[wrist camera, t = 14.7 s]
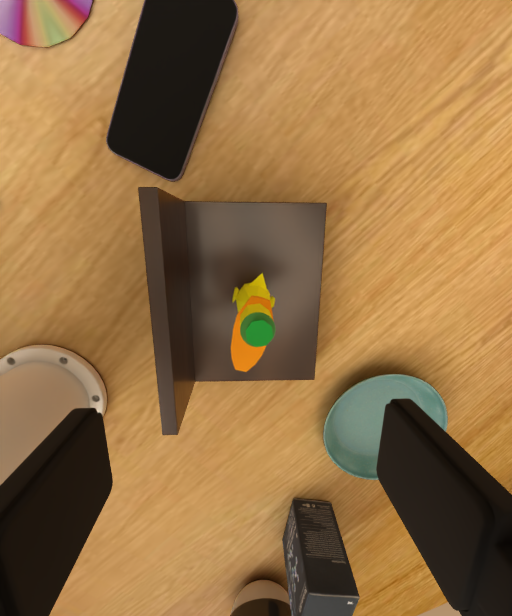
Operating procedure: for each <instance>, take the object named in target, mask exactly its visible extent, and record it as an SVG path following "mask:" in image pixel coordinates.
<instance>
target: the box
mask: <svg viewBox="0 0 512 616" xmlns="http://www.w3.org/2000/svg"><path fill="white" fill-rule="evenodd" d="M283 549H284V558H285V566H286V574H287V583H288V591H289V600H290V608H291V616H352V615H353V612H354V610H355V607H356V605H357V603H358V600H359V597H360V596H359V594H358V590H357V587H356V583H355V580H354V577H353V573H352V570H351V567H350V564H349V560H348V557H347V554H346V550H345V547H344V544H343V540H342V537H341V534H340V531H339V528H338V524H337V521H336V517H335V514H334V511H333V508H332V504H331V503H330V502H323V501H314V500H305V499H296V498H294V499H293V501H292V505H291V509H290V513H289V517H288V521H287V524H286V529H285V532H284V536H283Z"/></svg>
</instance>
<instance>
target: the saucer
mask: <svg viewBox="0 0 512 616" xmlns="http://www.w3.org/2000/svg"><path fill="white" fill-rule="evenodd" d="M404 398H409V399H411V400H413V401H414V402H415V403H416V404H417V405H418V406H419V407H420V408H421V409H422V410H423V411H424V412H425V413H426V414H428V415H429V416H430V417H431V418H432V419H433V420H434V421H435V422H436V423H437V424H438V425H439V426H440V427H441V428H442V429H443V430H444V431H445V432H446V429H447V423H448V416H447V410H446V406H445V403H444V401H443V399H442V397H441V396H440V394H439V393H438V392H437V391H436V390H435V389H434V388H433V387H432V386H431V385H430V384H428V383H427V382H425V381H423V380H421V379H419V378H416V377H413V376H409V375H403V374H386V375H379V376H374V377H371V378H367V379H365V380H362V381H360V382H358V383H357V384H355V385H353V386H352V387H350V388H349V389H348V390H346V391H345V392H344V393H343V394H342V395H341V396H340V397H339V398H338V399H337V401H336V402H335V403H334V405H333V406H332V408H331V410H330V411H329V413H328V416H327V418H326V421H325V425H324V431H323V439H324V445H325V448H326V451H327V453H328V455H329V457H330V458H331V460H332V461H333V462H334V463H335V464H336V465H337V466H338V467H339V468H340V469H341V470H343V471H345V472H346V473H348V474H350V475H353V476H355V477H359V478H363V479H369V480H379V479H378V476H377V471H376V467H377V460H378V453H379V446H380V439H381V432H382V425H383V418H384V411H385V406H386V404H388V403H390V401H391V400H392V399H404Z"/></svg>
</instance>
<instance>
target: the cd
mask: <svg viewBox="0 0 512 616" xmlns="http://www.w3.org/2000/svg"><path fill="white" fill-rule="evenodd" d="M92 1H93V0H0V34H2V35H4V36H6V37H7V38H9V39H11V40H13V41H15V42H16V43H18V44H20V45H28V46H37V47H47V48H48V47H50V46H52V45H55V44H57V43H60V42H62V41H65V40H67V39H70V38H71V37H72V36H73V35H74V34H75V33H76V31H77V30H78V29H79V28H80V27H81V25H82V24H83V23H84V22H85V21H86V19H87V18H88V16H89V12H90V8H91V5H92Z"/></svg>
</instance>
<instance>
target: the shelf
mask: <svg viewBox="0 0 512 616" xmlns="http://www.w3.org/2000/svg"><path fill="white" fill-rule="evenodd" d="M138 191H139V201H140V211H141V221H142V232H143V242H144V252H145V262H146V272H147V282H148V292H149V303H150V313H151V323H152V333H153V343H154V353H155V363H156V374H157V384H158V394H159V404H160V414H161V424H162V434H163V435H178V432H179V429H180V426H181V423H182V420H183V417H184V414H185V411H186V408H187V405H188V402H189V399H190V396H191V393H192V390H193V387H194V384H195V381H260V380H314V378H315V363H316V349H317V335H318V321H319V306H320V292H321V278H322V264H323V249H324V235H325V221H326V207H327V203H290V202H202V201H183V200H181V199H179V198H177V197H175V196H173V195H171V194H169V193H167V192H165V191H163V190H161V189H159V188H157V187H138ZM262 273H263V277H264V280H265V284H266V288H267V289H268V291H269V293H270V297H271V296H273V297H274V298H275V304H274V307H273V308H272V314H273V320H274V324H275V329H276V331H275V335H274V338H273V339H272V341H271V342H269V343H268V344H267V345H266V348H265V350H264V352H263V354H262V356H261V357H260V359H259V360H258V361H257V363H256V364H255V365H254V366H253V367H252V368H250V369H249V370H248V371H247V372H243V371H239V370H235V368H234V365H233V361H232V356H231V342H232V334H233V328H234V324H235V320H236V316H237V314H238V313H239V312H238V310H237V303H236V300H235V301H234V302H232V298H233V293H234V289H235V287H237V288H238V289H239V290H240V289H241V288H242V286H243V285H244V284H246V283H252V282H253V281H254V280H255V279H256V278H257V277H258V276H259V275H261V274H262Z"/></svg>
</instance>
